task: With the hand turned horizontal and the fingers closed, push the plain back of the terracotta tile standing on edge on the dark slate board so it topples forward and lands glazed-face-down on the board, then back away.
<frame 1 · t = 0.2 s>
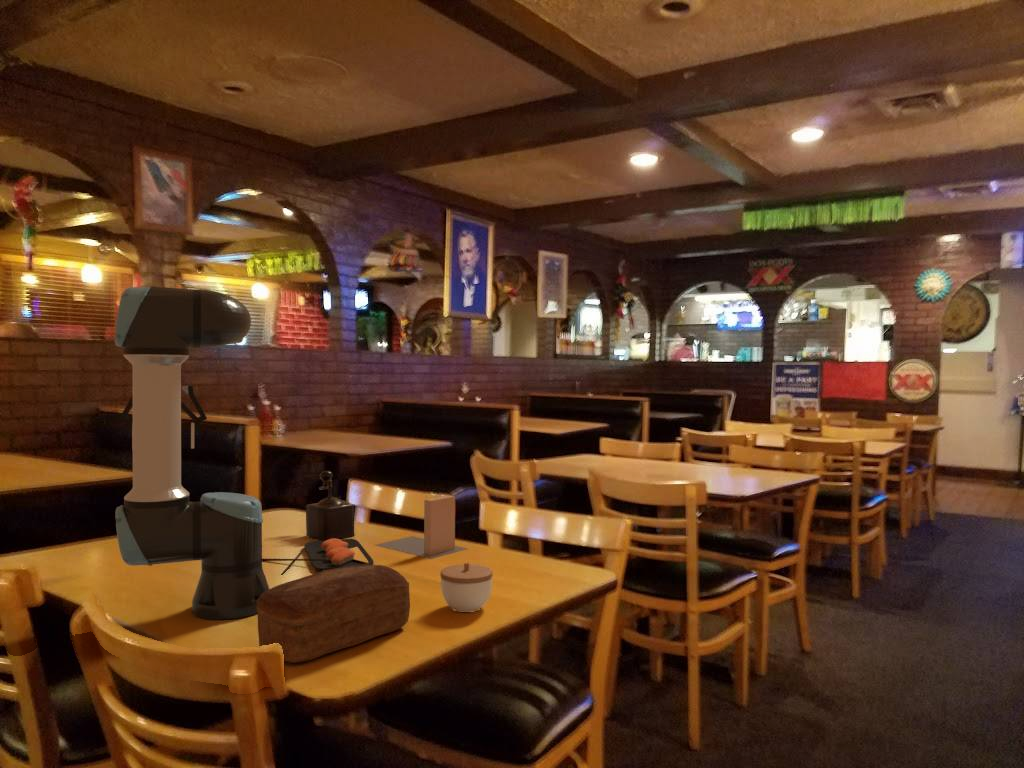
hand: (163, 449, 190), 28 cm above the table, tool pointing down, fingers open, 13 cm apart
lidded jar: (466, 609, 152), on the table
pepper mill: (326, 535, 217), on the table
bread: (336, 641, 134), on the table
board: (421, 550, 200), on the table
sushi plate: (306, 563, 189), on the table
tile: (439, 550, 195), point 1 cm above the table, touching board
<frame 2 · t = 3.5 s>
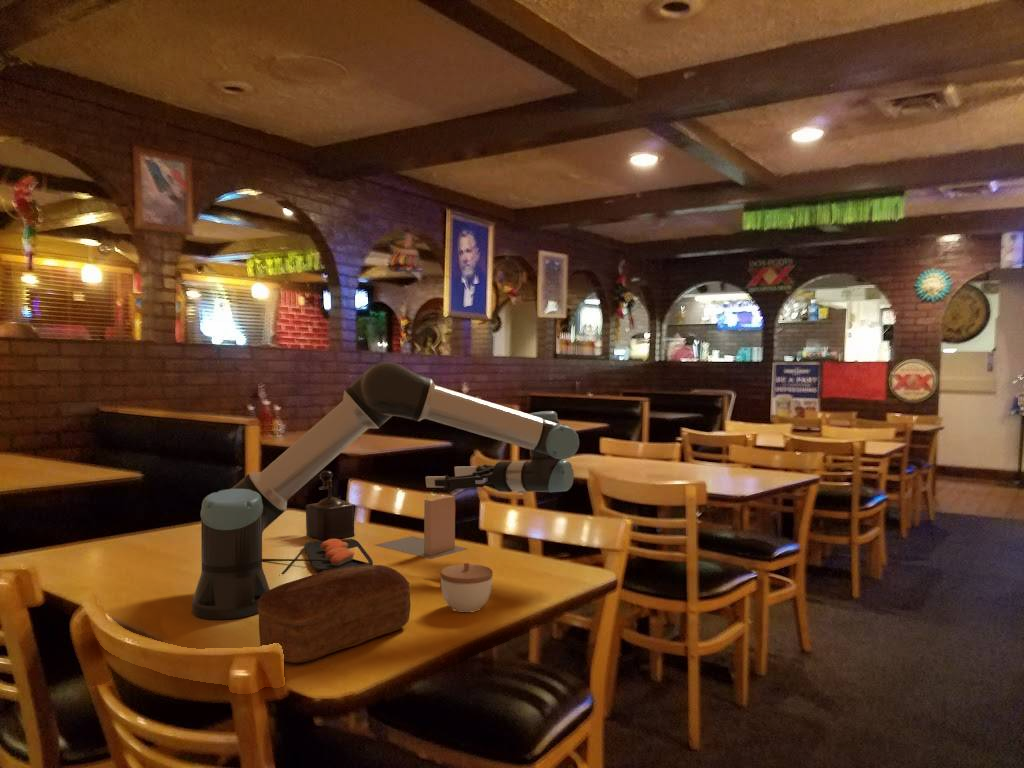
hand: (441, 476, 193), 21 cm above the table, tool horizontal, fingers open, 13 cm apart
nothing on the table moved.
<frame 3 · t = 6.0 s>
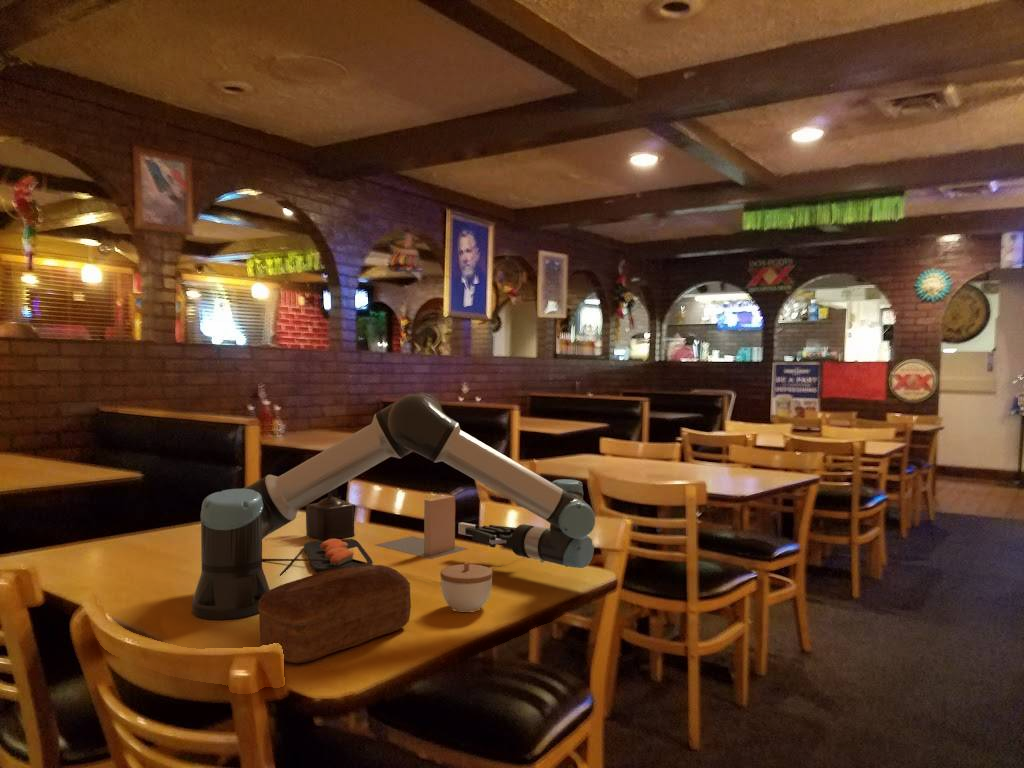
hand: (460, 527, 190), 8 cm above the table, tool horizontal, fingers closed
nothing on the table moved.
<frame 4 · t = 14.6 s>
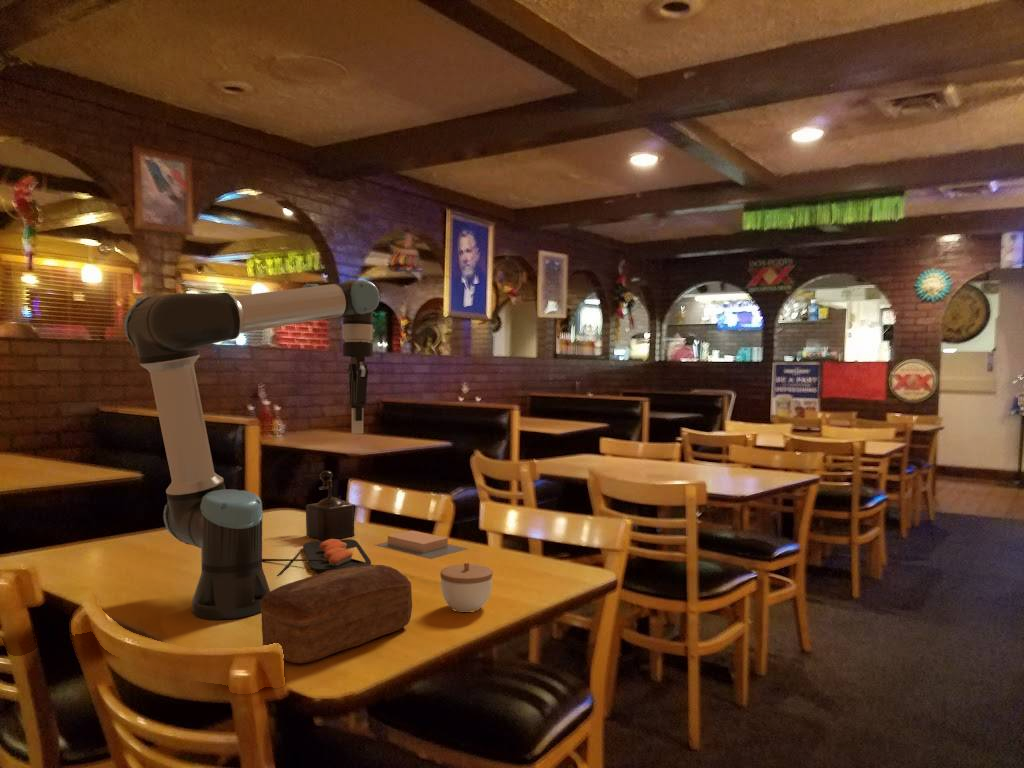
hand: (357, 433, 189), 32 cm above the table, tool pointing down, fingers closed
tile: (435, 545, 196), point 2 cm above the table, tilted 90°, touching board
everything else where it was.
at the end: tile tilted 90°; tile 5.6 cm from the board (horizontally); tile point 2.2 cm above the table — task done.
